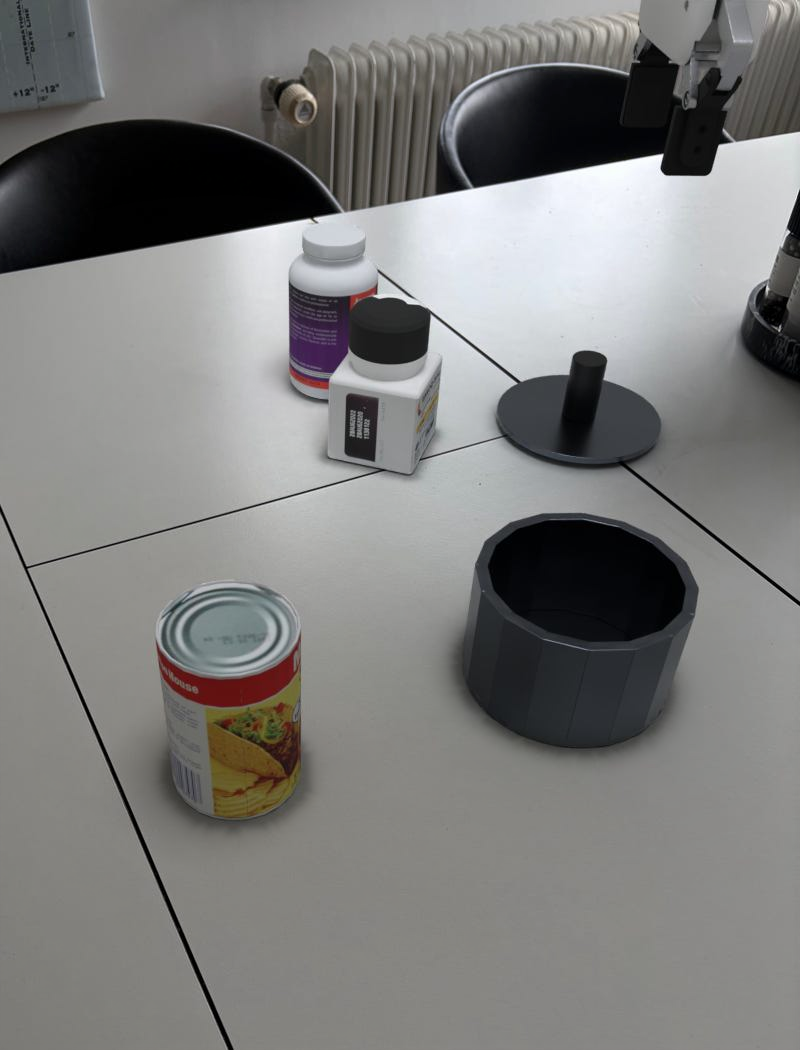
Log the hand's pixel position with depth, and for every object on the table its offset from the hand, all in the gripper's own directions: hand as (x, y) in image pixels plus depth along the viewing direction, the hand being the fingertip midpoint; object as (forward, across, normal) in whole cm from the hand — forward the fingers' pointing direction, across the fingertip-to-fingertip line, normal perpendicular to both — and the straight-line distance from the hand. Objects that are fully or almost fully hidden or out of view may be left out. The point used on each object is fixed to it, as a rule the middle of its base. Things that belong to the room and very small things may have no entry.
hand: (662, 149), depth 70 cm
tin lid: (+26, +9, -1) cm, 27 cm away
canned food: (+27, -31, +29) cm, 50 cm away
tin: (+27, -23, +7) cm, 36 cm away
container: (+27, +6, +17) cm, 32 cm away
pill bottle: (+27, +17, +20) cm, 38 cm away
